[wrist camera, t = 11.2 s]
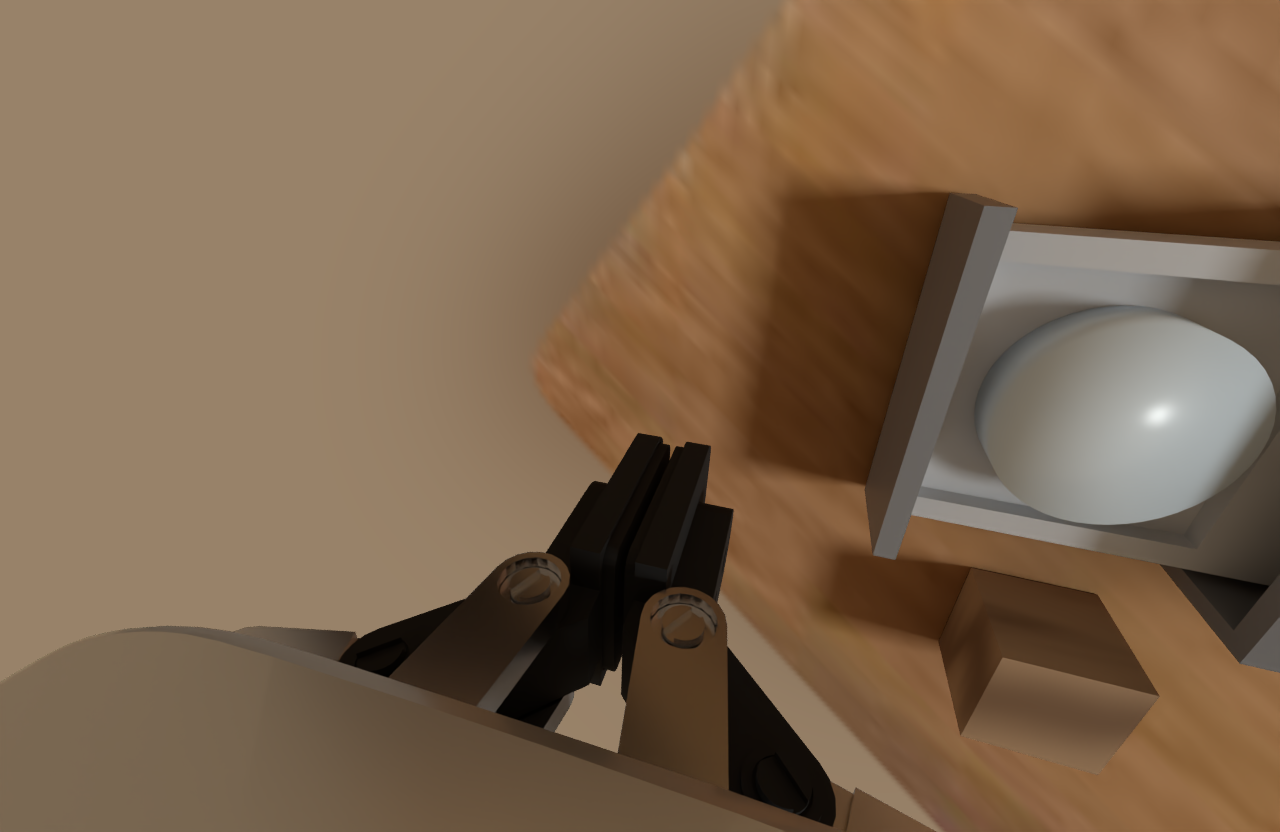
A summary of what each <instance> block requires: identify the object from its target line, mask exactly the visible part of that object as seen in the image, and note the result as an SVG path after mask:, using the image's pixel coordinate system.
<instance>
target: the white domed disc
mask: <svg viewBox="0 0 1280 832" xmlns="http://www.w3.org/2000/svg"><path fill="white" fill-rule="evenodd" d="M1275 415H1276V396H1275V392H1274V389H1273V385H1272V382H1271V380H1270V378H1269V376H1268V374H1267V372H1266V370H1265V369H1264V368H1263V366H1262V365H1261V364H1260V363H1259V362H1258V360H1257V359H1256V358H1255V357H1254V356H1253V355H1251V354H1250V353H1249V352H1248V351H1247V350H1246V349H1244V348H1243V347H1241V346H1240V345H1238V344H1236V343H1235V342H1233V341H1231V340H1230V339H1228V338H1226V337H1224V336H1222V335H1220V334H1218V333H1216V332H1213V331H1211V330H1209V329H1207V328H1205V327H1203V326H1201V325H1199V324H1197V323H1195V322H1193V321H1191V320H1189V319H1187V318H1184V317H1182V316H1180V315H1177V314H1175V313H1172V312H1169V311H1165V310H1161V309H1157V308H1151V307H1144V306H1128V305H1118V306H1106V307H1098V308H1093V309H1087V310H1083V311H1079V312H1076V313H1072V314H1068V315H1066V316H1063V317H1060V318H1058V319H1055V320H1053V321H1050V322H1048V323H1046V324H1044V325H1042V326H1040V327H1038V328H1036V329H1035V330H1033V331H1032V332H1030V333H1028V334H1027V335H1025V336H1024V337H1022V338H1021V339H1020V340H1018V341H1017V342H1016V343H1015V344H1013V345H1012V346H1011V347H1009V348H1008V349H1007V350H1006V351H1005V352H1004V353H1003V354H1002V355H1001V356H1000V357H999V358H998V360H997V361H996V362H995V363H994V365H993V366H992V367H991V369H990V370H989V372H988V373H987V375H986V377H985V378H984V380H983V382H982V384H981V387H980V389H979V391H978V395H977V399H976V402H975V411H974V419H975V428H976V432H977V436H978V438H979V440H980V443H981V445H982V447H983V449H984V451H985V453H986V455H987V457H988V459H989V461H990V463H991V464H992V466H993V468H994V470H995V472H996V474H997V476H998V477H999V479H1000V480H1001V482H1002V483H1003V485H1004V486H1005V487H1006V488H1007V489H1008V490H1009V491H1010V492H1011V493H1012V494H1013V495H1014V496H1016V497H1017V498H1018V499H1019V500H1021V501H1022V502H1024V503H1025V504H1027V505H1028V506H1030V507H1032V508H1033V509H1036V510H1038V511H1040V512H1042V513H1044V514H1047V515H1050V516H1053V517H1056V518H1059V519H1063V520H1067V521H1072V522H1077V523H1085V524H1098V525H1115V524H1129V523H1137V522H1144V521H1148V520H1153V519H1158V518H1162V517H1165V516H1168V515H1172V514H1175V513H1178V512H1181V511H1183V510H1185V509H1188V508H1190V507H1193V506H1195V505H1197V504H1199V503H1201V502H1203V501H1205V500H1207V499H1209V498H1211V497H1213V496H1214V495H1216V494H1217V493H1219V492H1220V491H1222V490H1224V489H1225V488H1227V487H1228V486H1229V485H1230V484H1232V483H1233V482H1234V481H1235V480H1237V479H1238V478H1239V477H1240V476H1241V475H1242V474H1243V473H1244V472H1245V471H1246V470H1247V469H1248V468H1249V467H1250V466H1251V465H1252V464H1253V463H1254V461H1255V460H1256V459H1257V457H1258V456H1259V455H1260V453H1261V452H1262V450H1263V449H1264V447H1265V445H1266V443H1267V441H1268V440H1269V437H1270V434H1271V432H1272V429H1273V426H1274V422H1275Z"/></svg>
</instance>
